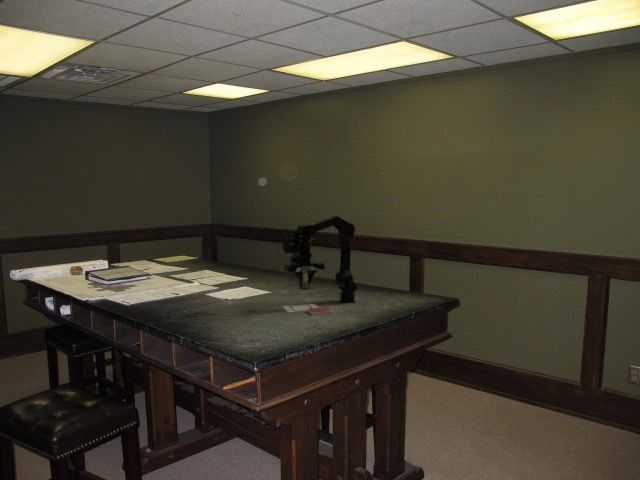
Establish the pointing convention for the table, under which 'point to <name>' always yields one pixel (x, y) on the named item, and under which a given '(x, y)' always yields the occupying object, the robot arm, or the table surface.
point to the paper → (299, 307)
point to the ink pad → (319, 311)
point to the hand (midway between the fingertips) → (304, 285)
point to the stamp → (304, 281)
